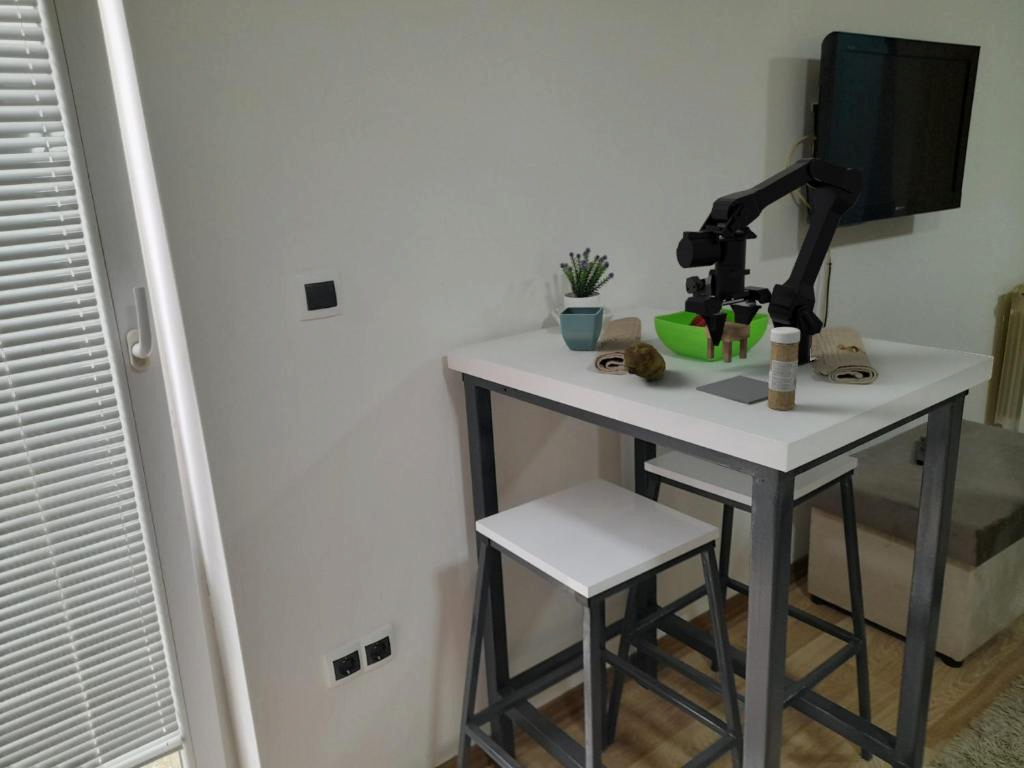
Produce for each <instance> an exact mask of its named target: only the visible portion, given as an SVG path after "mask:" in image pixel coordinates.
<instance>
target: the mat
mask: <svg viewBox="0 0 1024 768" xmlns="http://www.w3.org/2000/svg"><path fill="white" fill-rule="evenodd" d="M695 390H697V391H699V392H703V391H704V393H707V394H710V393H711V395H714V394H715V395H714V396H717V395H719V397H722V398H724V397H725V399H728V400H732V401H735V402H738V403H742V404H745V405H751V404H755V403H759V402H761V401H764V400H768V395H769V381H763V380H761V379H756V378H751V377H748V376H744V375H736V376H733V377H732V376H731V377H728V378H725V379H721V380H718V381H715V382H710V383H707V384H704V385H703V384H702V385H699V386H696V387H695Z"/></svg>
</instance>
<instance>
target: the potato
mask: <svg viewBox="0 0 1024 768" xmlns="http://www.w3.org/2000/svg"><path fill="white" fill-rule="evenodd" d="M623 361H624V366H625V367H626V369H627V372H628V374H629V375H635V376H637V377H639V378H643V379H645V380H652V381H653V380H658V379H659V378H661V377H662V376H663V375H664V374H665V371H666V367H667V366H666V364H667V363H666V360H665V359H664V357H663V355H662V354H661V353H660V352H659V351H658V350H657V348H655V347H654V346H653V345H651V344H650V343H647V342H644V341H643V342H641V341H640V342H633V343H631V344H630V345H628V346H627V347H625V349H624V352H623Z"/></svg>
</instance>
